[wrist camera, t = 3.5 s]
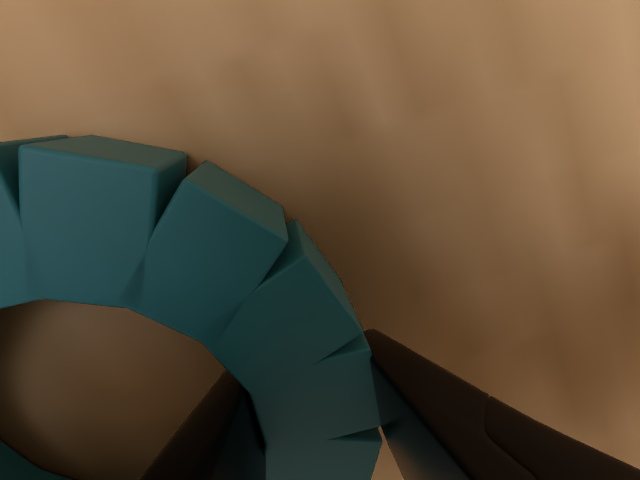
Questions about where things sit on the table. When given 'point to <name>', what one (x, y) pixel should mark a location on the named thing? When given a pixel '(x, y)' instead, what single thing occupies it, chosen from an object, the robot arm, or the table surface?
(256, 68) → the table surface
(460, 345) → the table surface
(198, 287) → the hoop
